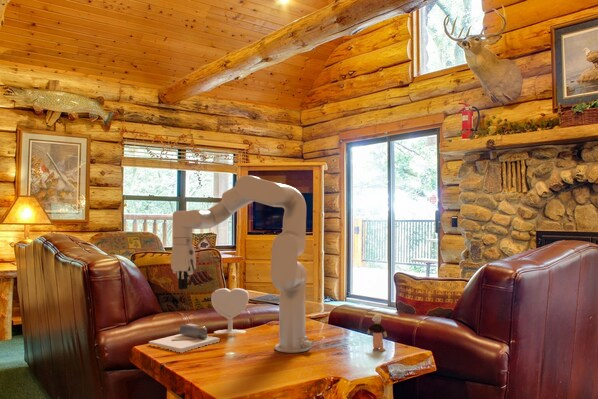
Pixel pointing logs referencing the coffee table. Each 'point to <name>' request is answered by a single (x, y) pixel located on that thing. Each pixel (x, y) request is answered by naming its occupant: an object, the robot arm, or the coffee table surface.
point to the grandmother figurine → (377, 333)
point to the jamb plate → (183, 342)
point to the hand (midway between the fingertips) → (182, 288)
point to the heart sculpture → (229, 305)
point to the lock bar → (193, 331)
